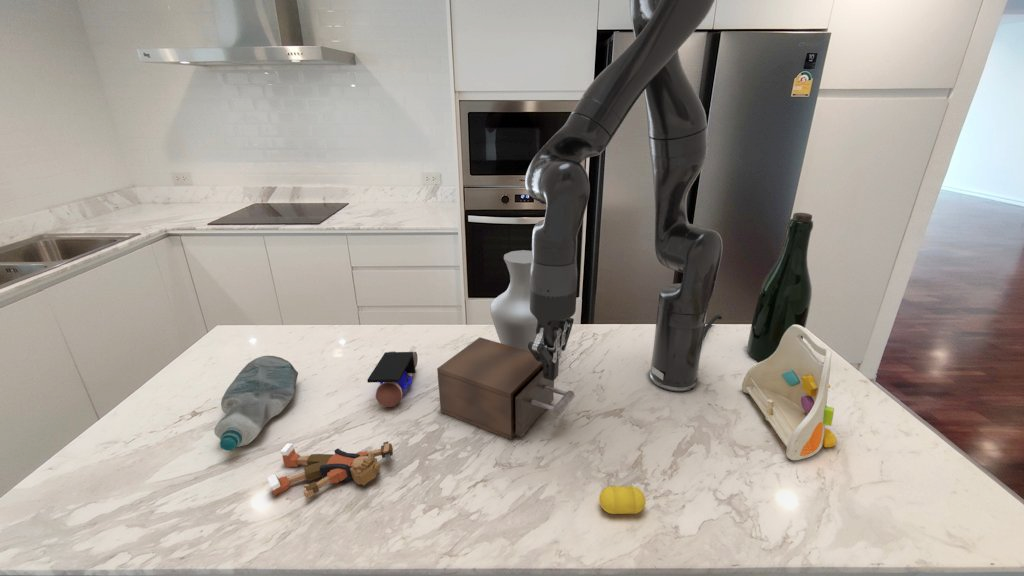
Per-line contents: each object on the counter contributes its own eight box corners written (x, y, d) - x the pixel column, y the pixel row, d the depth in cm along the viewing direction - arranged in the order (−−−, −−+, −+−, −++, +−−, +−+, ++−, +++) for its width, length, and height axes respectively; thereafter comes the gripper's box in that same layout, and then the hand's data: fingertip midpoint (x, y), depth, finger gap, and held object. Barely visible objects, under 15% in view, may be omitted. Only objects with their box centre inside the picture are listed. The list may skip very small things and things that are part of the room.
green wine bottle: (802, 354, 110) (838, 212, 97) (791, 373, 103) (828, 223, 90) (753, 339, 116) (781, 205, 104) (739, 357, 109) (767, 214, 96)
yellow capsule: (600, 519, 69) (602, 500, 67) (596, 499, 72) (598, 481, 70) (647, 519, 69) (649, 500, 67) (640, 499, 72) (643, 480, 70)
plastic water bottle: (244, 381, 102) (184, 464, 79) (239, 351, 99) (176, 427, 76) (309, 381, 104) (269, 461, 81) (306, 352, 101) (264, 426, 78)
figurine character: (390, 376, 106) (369, 411, 92) (387, 344, 104) (365, 375, 90) (420, 376, 106) (403, 412, 91) (418, 344, 104) (400, 375, 89)
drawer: (580, 408, 91) (582, 373, 88) (550, 448, 81) (551, 410, 78) (491, 378, 100) (489, 345, 97) (454, 411, 90) (451, 375, 87)
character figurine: (297, 430, 82) (395, 429, 79) (305, 452, 84) (401, 453, 81) (252, 482, 71) (364, 484, 68) (263, 507, 73) (372, 510, 70)
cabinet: (547, 399, 95) (548, 356, 91) (511, 440, 84) (510, 393, 80) (481, 377, 103) (479, 336, 99) (440, 412, 92) (436, 368, 88)
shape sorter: (852, 463, 78) (883, 370, 71) (785, 461, 79) (810, 368, 72) (793, 392, 96) (813, 312, 89) (739, 391, 97) (755, 312, 90)
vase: (516, 339, 118) (515, 241, 109) (567, 356, 110) (571, 252, 101) (479, 364, 107) (474, 259, 98) (532, 385, 100) (533, 273, 90)
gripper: (556, 305, 70) (553, 404, 77) (591, 276, 80) (585, 366, 87) (512, 294, 74) (512, 390, 80) (550, 269, 84) (548, 355, 91)
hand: (550, 377), depth 84 cm, fingers closed
